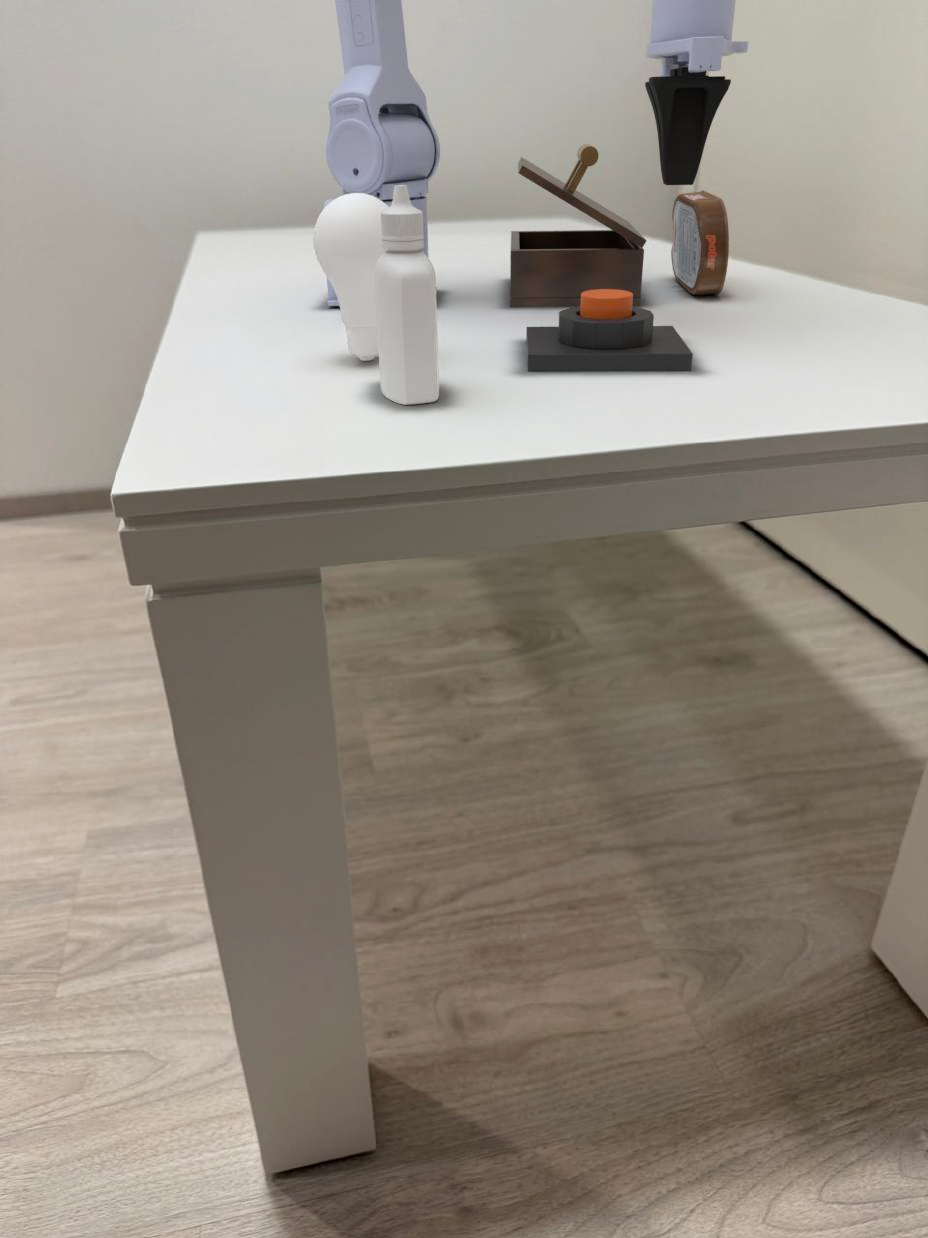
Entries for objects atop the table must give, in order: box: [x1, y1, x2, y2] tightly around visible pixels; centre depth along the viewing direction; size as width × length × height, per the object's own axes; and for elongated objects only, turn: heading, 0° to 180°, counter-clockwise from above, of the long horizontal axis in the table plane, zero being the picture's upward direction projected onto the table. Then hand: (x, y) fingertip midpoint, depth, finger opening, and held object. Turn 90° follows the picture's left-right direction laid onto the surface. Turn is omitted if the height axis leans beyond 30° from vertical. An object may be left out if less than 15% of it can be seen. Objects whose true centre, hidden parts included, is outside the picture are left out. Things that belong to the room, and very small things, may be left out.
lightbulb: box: [312, 193, 389, 362], centre depth 64 cm, size 6×6×11 cm
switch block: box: [525, 306, 694, 373], centre depth 66 cm, size 11×9×3 cm
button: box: [580, 289, 633, 319], centre depth 65 cm, size 4×4×2 cm
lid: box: [517, 143, 648, 249], centre depth 84 cm, size 12×15×5 cm
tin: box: [670, 189, 730, 296], centre depth 88 cm, size 15×3×8 cm, turn 179°
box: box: [509, 229, 645, 308], centre depth 88 cm, size 12×15×5 cm
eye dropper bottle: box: [374, 185, 440, 406], centre depth 56 cm, size 4×6×12 cm
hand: (678, 184), depth 71 cm, fingers closed
